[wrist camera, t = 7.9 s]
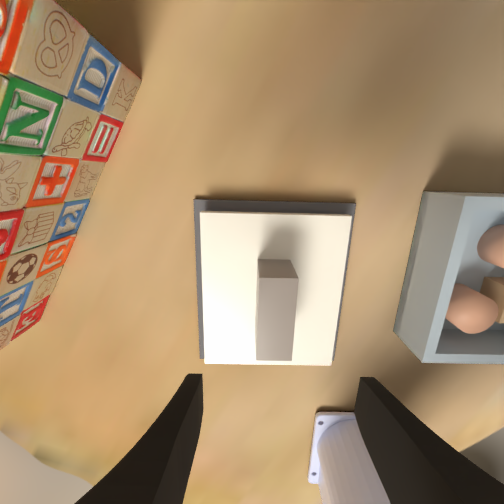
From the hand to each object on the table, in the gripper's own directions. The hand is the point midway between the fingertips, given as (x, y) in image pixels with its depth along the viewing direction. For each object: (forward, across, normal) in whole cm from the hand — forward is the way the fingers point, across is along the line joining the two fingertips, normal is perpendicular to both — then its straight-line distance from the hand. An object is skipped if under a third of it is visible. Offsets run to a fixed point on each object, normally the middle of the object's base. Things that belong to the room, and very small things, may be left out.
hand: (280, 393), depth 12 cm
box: (+10, -16, -3) cm, 20 cm away
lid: (+10, 0, 0) cm, 10 cm away
